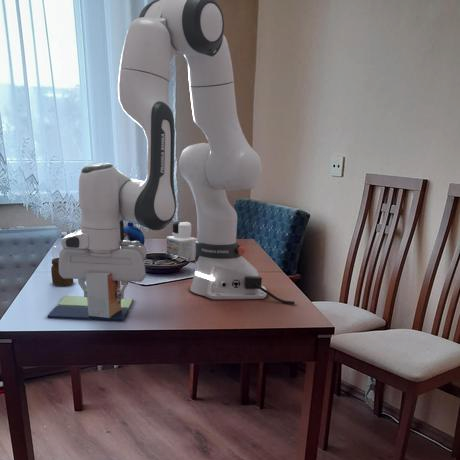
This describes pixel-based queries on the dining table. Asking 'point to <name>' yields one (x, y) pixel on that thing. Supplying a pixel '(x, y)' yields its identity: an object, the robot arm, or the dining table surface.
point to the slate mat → (83, 314)
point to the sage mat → (82, 302)
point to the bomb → (133, 234)
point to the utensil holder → (56, 276)
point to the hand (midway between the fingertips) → (104, 297)
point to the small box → (102, 294)
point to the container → (182, 241)
